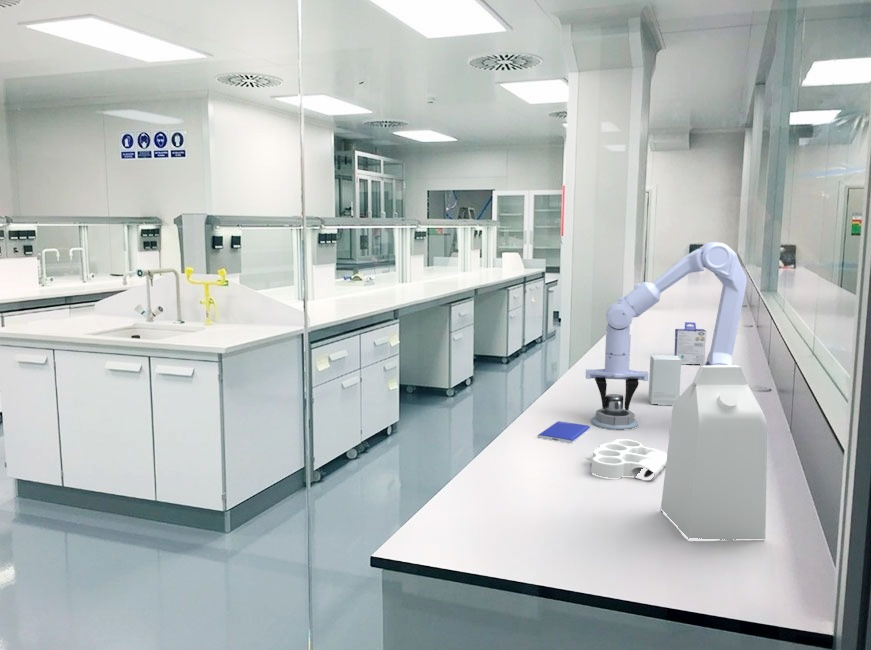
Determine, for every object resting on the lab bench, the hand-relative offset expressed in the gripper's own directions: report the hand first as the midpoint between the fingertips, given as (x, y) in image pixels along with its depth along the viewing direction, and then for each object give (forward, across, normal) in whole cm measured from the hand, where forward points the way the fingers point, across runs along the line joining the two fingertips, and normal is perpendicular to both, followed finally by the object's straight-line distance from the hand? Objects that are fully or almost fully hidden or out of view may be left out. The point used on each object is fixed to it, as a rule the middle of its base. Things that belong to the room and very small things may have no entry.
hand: (615, 408), depth 169 cm
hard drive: (+5, -12, -10) cm, 17 cm away
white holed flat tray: (+4, -1, -31) cm, 32 cm away
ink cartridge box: (+4, +34, +83) cm, 89 cm away
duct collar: (+4, 0, 0) cm, 4 cm away
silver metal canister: (+3, 0, 0) cm, 3 cm away
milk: (+4, +9, -58) cm, 58 cm away
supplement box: (+4, +15, +24) cm, 29 cm away
